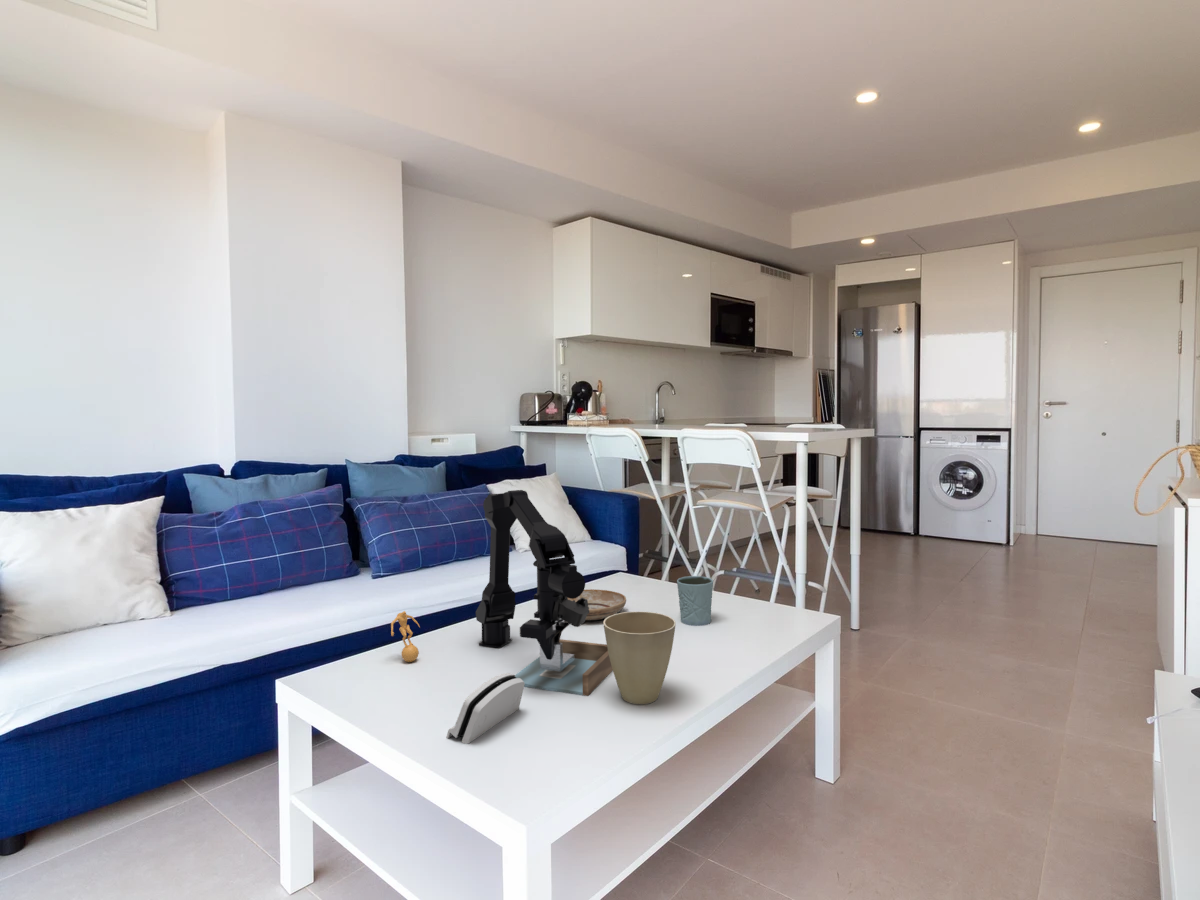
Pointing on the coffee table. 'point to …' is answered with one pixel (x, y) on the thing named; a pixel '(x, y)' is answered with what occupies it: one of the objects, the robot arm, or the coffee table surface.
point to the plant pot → (639, 652)
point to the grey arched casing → (488, 706)
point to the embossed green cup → (695, 600)
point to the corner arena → (571, 670)
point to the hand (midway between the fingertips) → (551, 657)
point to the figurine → (409, 650)
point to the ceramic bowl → (602, 603)
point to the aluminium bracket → (556, 658)
